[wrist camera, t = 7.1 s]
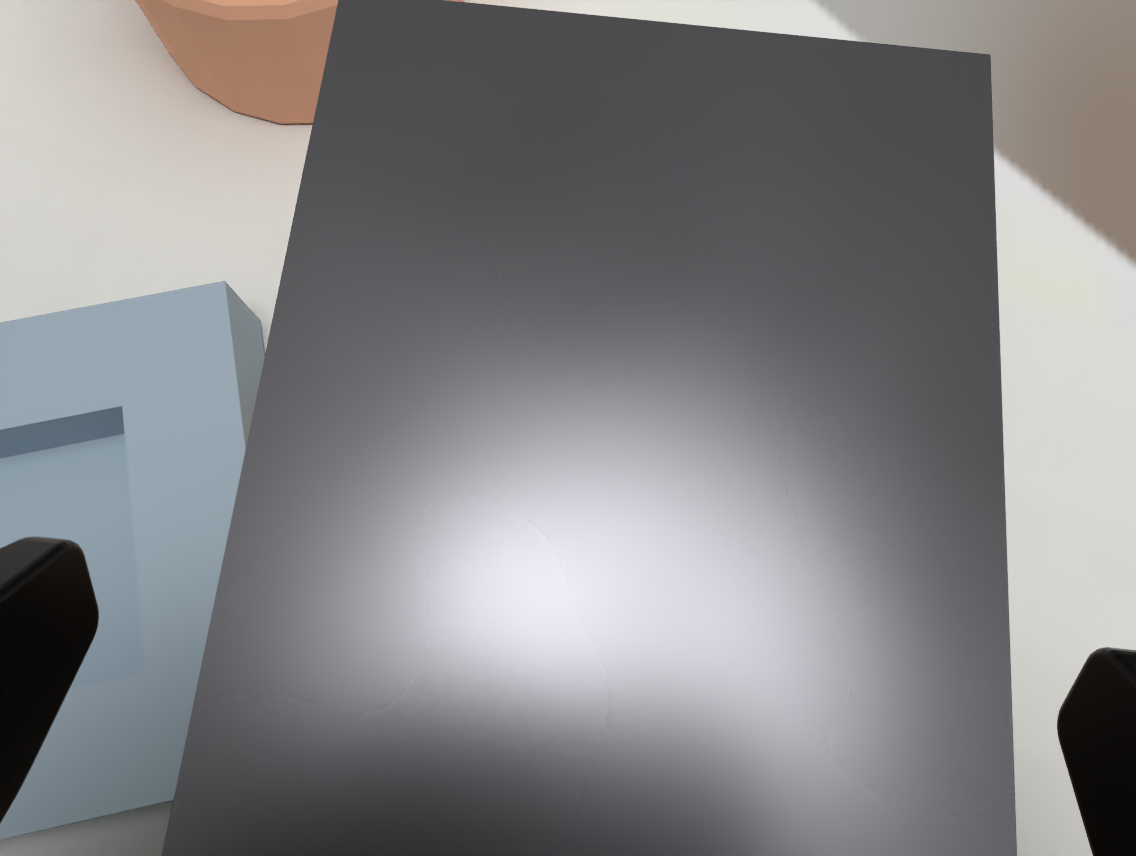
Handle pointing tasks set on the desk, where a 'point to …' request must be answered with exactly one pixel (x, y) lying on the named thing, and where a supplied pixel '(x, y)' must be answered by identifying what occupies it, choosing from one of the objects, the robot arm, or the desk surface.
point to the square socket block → (127, 521)
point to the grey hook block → (620, 457)
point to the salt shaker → (250, 51)
